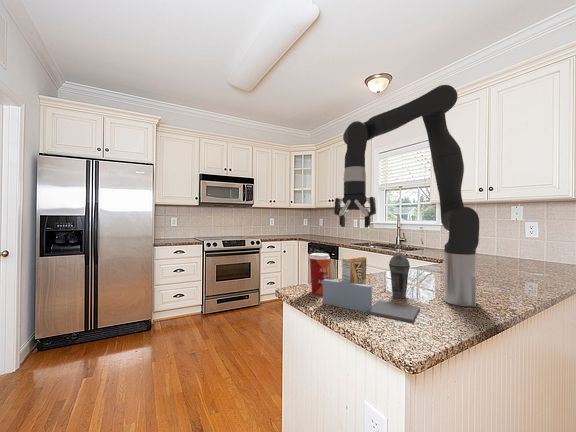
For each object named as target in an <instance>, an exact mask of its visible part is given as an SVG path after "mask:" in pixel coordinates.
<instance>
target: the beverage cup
mask: <svg viewBox="0 0 576 432" xmlns="http://www.w3.org/2000/svg"><path fill="white" fill-rule="evenodd" d="M388 266H389V271H390V282H391V293H392V297H394V298H397V299H405V298H406V297H407V290H408V279H409V271H410V267H411V266H410V261H409V259H408V258H407V257H406V255H403V254H401V242H398V254H395V255H393V256H392V257H391V258H390V260H389V262H388Z"/></svg>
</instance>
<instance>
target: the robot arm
mask: <svg viewBox="0 0 576 432" xmlns="http://www.w3.org/2000/svg"><path fill="white" fill-rule="evenodd" d="M457 101H458V91H457V90H456V89H455V88H454V87H453V86H452V85H450V84H441V85H437V86H436V87H434V88H432V89H431V90H429V91H428V92H426V93H424V94H422V95H421V96H419V97H417V98H414V99H413V100H411V101H408V102H406V103H404V104H402V105H399V106H396V107H394V108H391V109H389V110H386V111H383V112H381V113H378V114H375V115H373V116H371V117H370V118H368V119H367V120H366V121H364V122H362V121H360V120H356V121H352V122H350V124H349V125H348V126H347V127H346V129H345V131H344V133H343V136H342V137H343V138H342V139H343V142H344V143H345V144H346V152H345V154H344V171H343V198H339V197H336V198H335V199H334V212H333V213H334V215H336V216H338V217H339V226H340V227H341V228H345V227H346V216H345V215H346V214H347V213H348V212H349V211H354V210H357V211H361V212H362V213H363V215H364V228H369V226H371V218H372V216H374V215H376V214H377V208H376V207H377V205H376V197H374V196H370V197H367V196H366V195H367V194H366V193H367V192H366V191H367V188H366V187H367V183H366V181H367V176H366V175H367V174H366V149H367V144H368V141H370V140H373V139H374V138H375V137H378V136H381V135H384V134H387V133H390V132H393V131H395V130H397V129H399V128H401V127H402V126H405V125H406V124H408V123H410V122H412V121H414V120H416V119H418V118H422V120H423V121H422V122H423V125H424V127H425V131H426V135H427V139H428V145H429V150H430V154H431V164H432V168H433V173H434V176H435V182H436V187H437V191H438V195H439V197H438V198H439V205H440V206H439V208H440V211H439V212H440V220H441V224H442V227H444V229H445V230H446V231H448V240H447V242H446V243H445V244H444V247H443V249H444V250H443V251H444V252H443V253H444V256H443V257H444V262H443V263H444V264H443V265H444V266H443V268H444V269H443V270H444V273H443V279H444V280H443V281H444V283H443V284H444V285H443V286H444V287H443V288H444V289H443V290H444V291H443V293H444V294H443V297H444V298H443V299H444V300H443V301H444V302H445V303H448V304H450V305H454V306H459V307H473V308H475V307H477V303H476V302H477V295H476V294H477V278H476V276H477V273H476V271H477V270H476V268H477V267H476V266H477V264H476V262H477V261H476V260H477V256H476V254H477V253H476V251H477V248H478V246H479V243H480V242H479V241H480V240H479V239H480V218H479V214H478V212H477V211H476V210H475V209H473V208H472V207H470V206H465V205H464V201H463V195H462V185H463V179H464V174H465V163H464V159H463V153H462V149H461V147H460V145H459V143H458V142H457V141H456V140H455V138H454V137H453V136H452V135H451V133H450V131H449V129H448V125H447V119H446V114H447V113H448V112H449V111H450V110H451V109H453V107H454V106H455V105H456V103H457ZM367 202H368V204H369V210H368V208H367V207H366V205H365V204H367ZM342 203H343V204H344V205H343V207H342V208H341V205H342Z"/></svg>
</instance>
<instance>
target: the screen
mask: <svg viewBox="0 0 576 432" xmlns="http://www.w3.org/2000/svg"><path fill="white" fill-rule="evenodd" d="M372 289H373V287H372V285H370V284H366V285H364V284H357V283H350V282H343V281H342V280H334V279H329V278H328V279H324V280H323V295H322V304H324V305H328V306H334V307H339V308H344V309H347V310H352V311H359V312H363V313H364V312H365V313H367V310H370V309H372V306H373V305H372V303H373V301H372V300H373V299H372V298H373V297H372V296H373V295H372V293H373V291H372Z"/></svg>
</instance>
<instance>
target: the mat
mask: <svg viewBox="0 0 576 432" xmlns="http://www.w3.org/2000/svg"><path fill="white" fill-rule="evenodd" d="M420 310H421V309H420V306H417V305H411V304H410V305H409V304H404V303H397V302H393V301H392V302H391V301H387V300H386V301H385V300H380V299H378V300H377V301H376V302H375V303H374V304H373V305H372V309H370V310H367V312H366V313H367V315H368V314H369V315H373V316H378V317H383V318H386V319H387V318H389V319H394V320H398V321H402V322H403V321H404V322H408V323H414V322H415V320H416V318H417V317H418V314H419V312H420Z"/></svg>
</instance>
